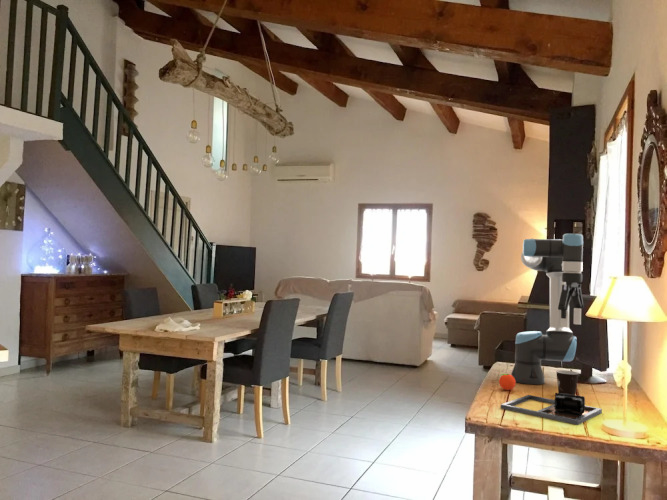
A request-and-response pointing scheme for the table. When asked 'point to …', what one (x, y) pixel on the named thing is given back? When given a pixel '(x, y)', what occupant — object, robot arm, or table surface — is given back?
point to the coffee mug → (567, 382)
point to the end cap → (569, 404)
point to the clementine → (507, 381)
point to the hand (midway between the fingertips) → (570, 325)
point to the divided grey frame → (550, 410)
